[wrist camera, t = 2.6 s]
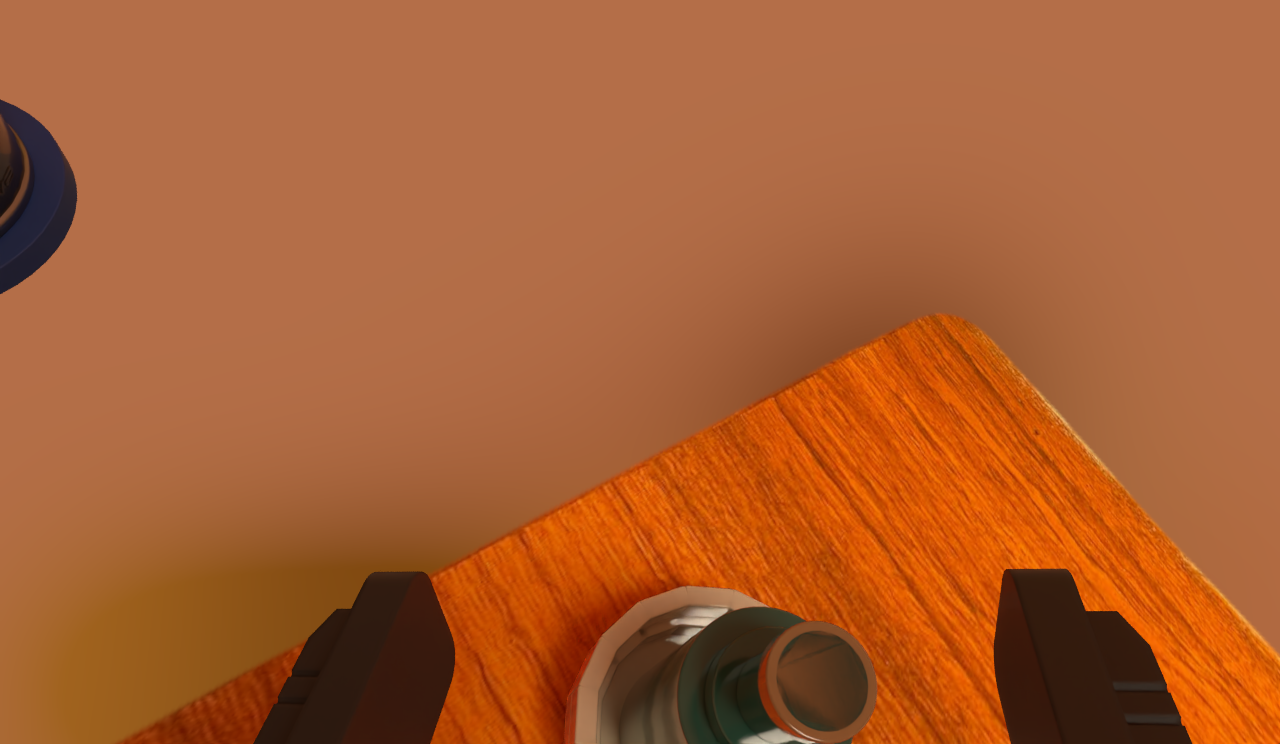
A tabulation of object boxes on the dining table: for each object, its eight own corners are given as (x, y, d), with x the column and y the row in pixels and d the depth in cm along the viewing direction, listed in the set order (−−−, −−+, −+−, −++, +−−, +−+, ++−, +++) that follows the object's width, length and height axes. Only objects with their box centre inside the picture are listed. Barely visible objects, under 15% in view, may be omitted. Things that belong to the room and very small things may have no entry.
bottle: (595, 766, 35) (682, 737, 21) (652, 636, 38) (760, 535, 24) (722, 832, 35) (892, 844, 21) (770, 696, 37) (948, 629, 24)
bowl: (519, 797, 34) (526, 795, 30) (625, 570, 39) (644, 543, 35) (750, 917, 34) (787, 930, 30) (828, 673, 39) (870, 656, 35)
